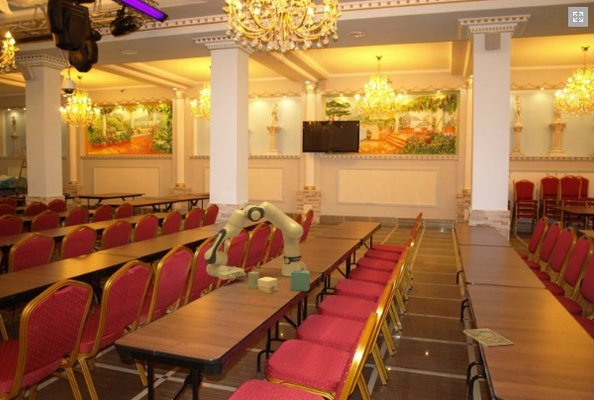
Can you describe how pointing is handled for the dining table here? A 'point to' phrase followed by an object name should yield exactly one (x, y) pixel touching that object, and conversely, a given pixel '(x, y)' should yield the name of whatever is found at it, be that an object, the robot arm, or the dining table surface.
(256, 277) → the grey column
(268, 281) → the tower block upper
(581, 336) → the dining table surface
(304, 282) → the data package
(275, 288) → the tower block lower
